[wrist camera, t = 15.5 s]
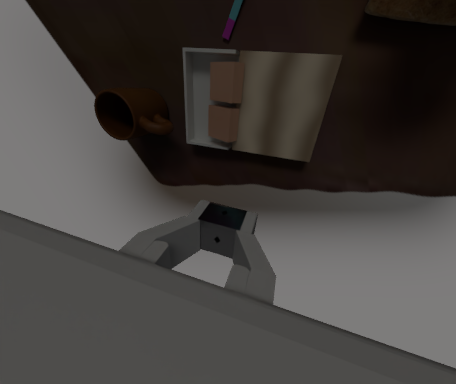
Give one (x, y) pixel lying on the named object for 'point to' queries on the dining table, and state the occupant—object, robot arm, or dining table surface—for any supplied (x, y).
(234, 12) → the squeegee
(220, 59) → the tray
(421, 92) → the dining table surface
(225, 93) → the tile
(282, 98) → the board
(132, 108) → the mug
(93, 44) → the dining table surface
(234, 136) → the tile
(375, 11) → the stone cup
